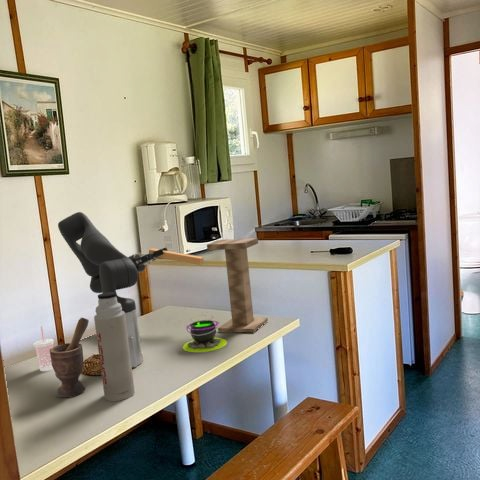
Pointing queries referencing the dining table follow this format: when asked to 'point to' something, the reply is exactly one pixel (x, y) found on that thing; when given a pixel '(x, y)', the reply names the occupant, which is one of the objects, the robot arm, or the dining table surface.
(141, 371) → the dining table surface
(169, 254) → the handle bar
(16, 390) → the dining table surface
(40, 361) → the beverage cup
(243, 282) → the shelf stand
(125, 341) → the thermos bottle
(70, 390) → the mortar and pestle
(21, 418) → the dining table surface
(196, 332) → the toy cauldron
